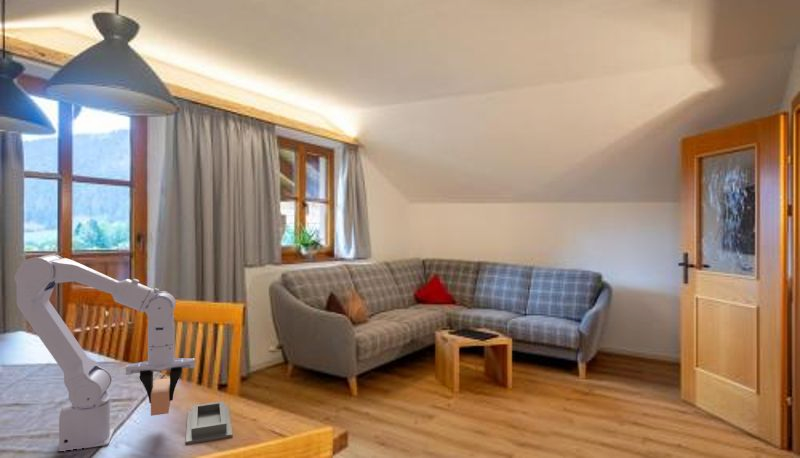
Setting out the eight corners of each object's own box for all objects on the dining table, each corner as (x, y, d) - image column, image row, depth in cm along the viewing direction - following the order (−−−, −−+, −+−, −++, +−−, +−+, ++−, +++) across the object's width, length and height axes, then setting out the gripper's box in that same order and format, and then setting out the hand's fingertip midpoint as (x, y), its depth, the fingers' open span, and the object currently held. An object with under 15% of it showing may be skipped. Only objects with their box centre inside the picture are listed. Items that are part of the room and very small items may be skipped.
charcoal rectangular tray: (185, 444, 107) (185, 433, 107) (187, 413, 123) (187, 403, 123) (232, 436, 111) (232, 425, 111) (228, 407, 127) (228, 398, 127)
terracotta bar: (150, 415, 107) (150, 394, 107) (154, 399, 117) (154, 379, 117) (168, 413, 109) (168, 392, 109) (171, 397, 118) (171, 377, 118)
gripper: (123, 351, 106) (124, 411, 106) (194, 345, 111) (194, 402, 112) (128, 343, 112) (128, 399, 113) (194, 338, 118) (194, 391, 118)
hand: (161, 400), depth 113 cm, fingers closed on terracotta bar, 4 cm apart
